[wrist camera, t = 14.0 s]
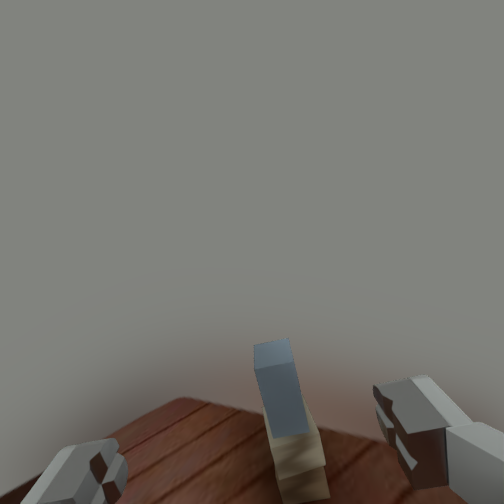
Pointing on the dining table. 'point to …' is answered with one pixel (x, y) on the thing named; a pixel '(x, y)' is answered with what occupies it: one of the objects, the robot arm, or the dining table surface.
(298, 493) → the tower base
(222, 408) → the dining table surface
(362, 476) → the dining table surface
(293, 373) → the pillar
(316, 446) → the tower top
